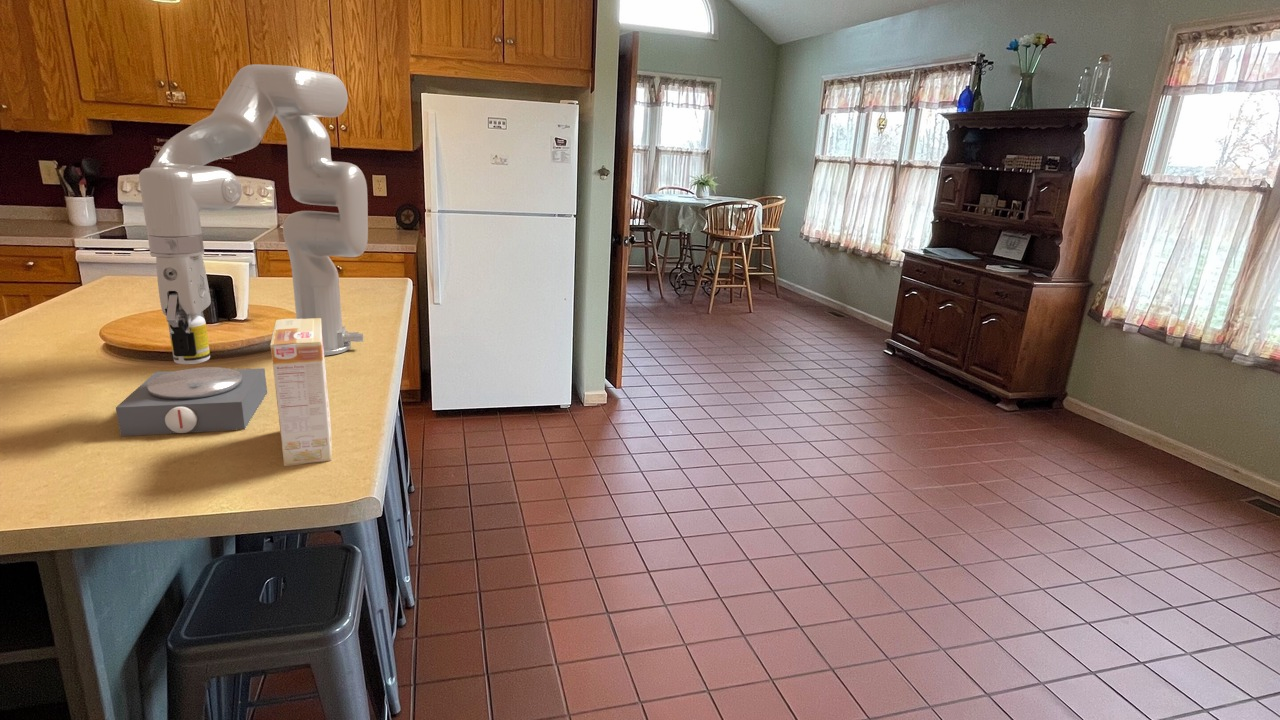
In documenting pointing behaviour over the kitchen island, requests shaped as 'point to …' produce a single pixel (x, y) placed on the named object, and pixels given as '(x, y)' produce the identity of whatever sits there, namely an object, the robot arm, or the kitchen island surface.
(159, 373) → the scale base
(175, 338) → the robot arm
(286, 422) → the coffeecake box
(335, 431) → the kitchen island surface
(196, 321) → the supplement bottle
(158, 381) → the scale pan
